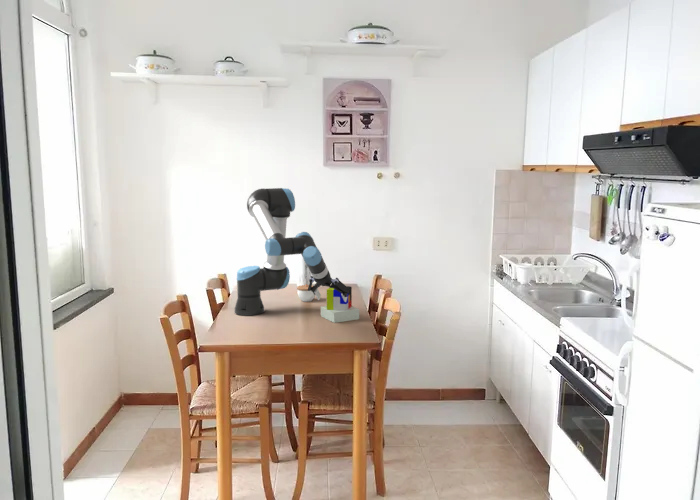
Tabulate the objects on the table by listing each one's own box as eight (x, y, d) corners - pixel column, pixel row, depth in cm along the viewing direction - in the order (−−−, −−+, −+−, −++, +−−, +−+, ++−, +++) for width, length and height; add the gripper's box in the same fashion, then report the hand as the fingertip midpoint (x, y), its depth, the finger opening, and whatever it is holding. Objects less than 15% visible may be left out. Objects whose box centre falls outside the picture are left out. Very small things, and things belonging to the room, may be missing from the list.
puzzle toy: (346, 310, 266) (346, 290, 265) (326, 309, 269) (326, 289, 267) (351, 306, 276) (351, 286, 274) (332, 304, 278) (332, 285, 277)
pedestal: (320, 316, 275) (320, 306, 275) (345, 312, 282) (345, 303, 282) (334, 322, 263) (334, 312, 263) (359, 319, 270) (359, 309, 270)
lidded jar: (313, 297, 317) (313, 281, 315) (318, 301, 307) (318, 285, 305) (295, 299, 313) (295, 282, 312) (299, 303, 303) (299, 286, 302)
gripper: (292, 278, 248) (306, 303, 265) (344, 281, 240) (355, 307, 256) (297, 264, 253) (310, 290, 269) (348, 267, 244) (359, 293, 260)
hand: (332, 298), depth 263 cm, fingers open, 13 cm apart
